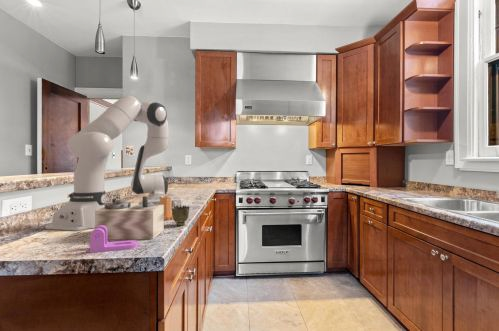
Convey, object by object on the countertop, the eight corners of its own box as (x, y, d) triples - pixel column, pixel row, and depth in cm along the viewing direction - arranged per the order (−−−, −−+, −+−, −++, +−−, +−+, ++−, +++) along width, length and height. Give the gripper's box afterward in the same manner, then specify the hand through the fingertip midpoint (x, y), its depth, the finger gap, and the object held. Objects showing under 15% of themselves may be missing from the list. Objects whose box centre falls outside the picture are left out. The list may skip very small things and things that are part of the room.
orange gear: (153, 220, 125) (153, 198, 125) (159, 216, 134) (159, 196, 134) (172, 220, 126) (173, 198, 126) (177, 216, 135) (177, 196, 135)
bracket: (90, 253, 81) (90, 229, 81) (94, 247, 87) (94, 225, 86) (137, 249, 85) (137, 226, 85) (138, 243, 91) (138, 223, 91)
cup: (184, 228, 112) (184, 208, 112) (168, 226, 113) (168, 207, 113) (192, 223, 119) (192, 205, 119) (176, 223, 121) (176, 204, 121)
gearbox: (94, 239, 95) (94, 198, 95) (112, 229, 108) (112, 194, 108) (153, 239, 96) (153, 199, 96) (163, 229, 109) (163, 194, 108)
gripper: (138, 196, 139) (141, 200, 127) (178, 194, 149) (185, 197, 137) (137, 208, 139) (141, 213, 127) (178, 206, 149) (185, 210, 137)
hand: (164, 205), depth 132 cm, fingers open, 8 cm apart
